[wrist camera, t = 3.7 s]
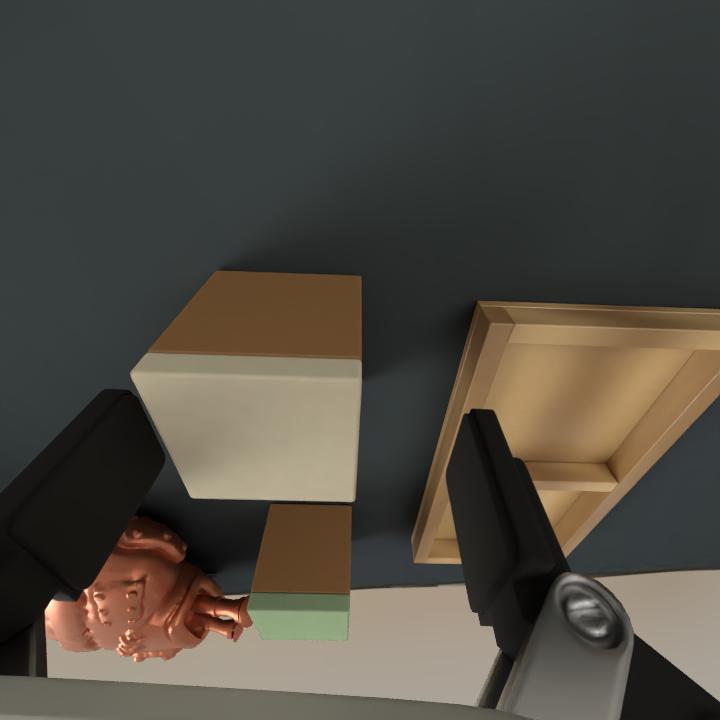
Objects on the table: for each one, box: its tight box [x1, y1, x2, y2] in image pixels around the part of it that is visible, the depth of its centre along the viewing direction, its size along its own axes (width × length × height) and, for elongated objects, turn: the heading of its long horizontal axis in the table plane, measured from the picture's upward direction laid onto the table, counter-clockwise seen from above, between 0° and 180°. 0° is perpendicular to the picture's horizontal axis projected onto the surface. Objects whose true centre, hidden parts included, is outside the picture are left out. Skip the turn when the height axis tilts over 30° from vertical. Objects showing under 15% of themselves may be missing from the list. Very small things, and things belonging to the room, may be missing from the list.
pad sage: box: [247, 504, 352, 641], centre depth 20 cm, size 5×5×6 cm
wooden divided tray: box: [411, 301, 720, 564], centre depth 17 cm, size 10×18×2 cm, turn 178°
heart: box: [45, 515, 253, 662], centre depth 22 cm, size 6×12×15 cm
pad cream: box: [131, 270, 362, 502], centre depth 11 cm, size 5×5×6 cm
